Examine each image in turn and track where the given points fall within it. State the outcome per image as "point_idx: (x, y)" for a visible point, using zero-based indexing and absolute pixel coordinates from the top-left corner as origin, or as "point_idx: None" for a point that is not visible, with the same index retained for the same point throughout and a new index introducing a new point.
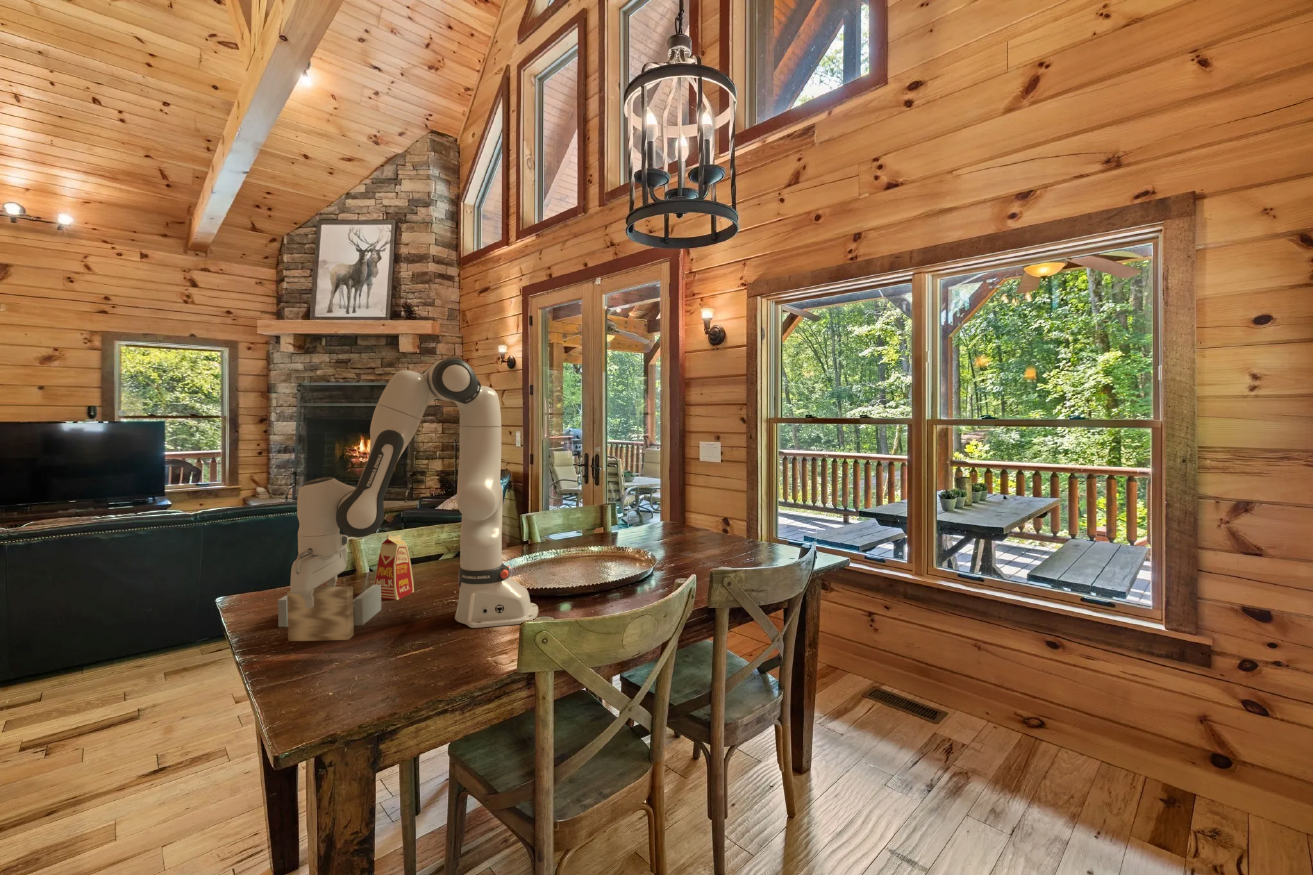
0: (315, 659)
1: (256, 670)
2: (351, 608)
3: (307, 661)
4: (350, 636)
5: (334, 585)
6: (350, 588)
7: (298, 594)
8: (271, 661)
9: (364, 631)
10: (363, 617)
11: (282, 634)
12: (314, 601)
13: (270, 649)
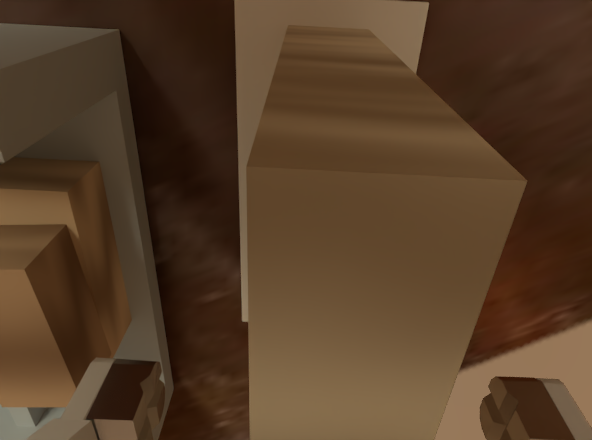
0: (548, 132)
1: (575, 313)
2: (321, 69)
3: (560, 161)
4: (339, 31)
5: (68, 430)
6: (360, 169)
7: None
8: (496, 300)
9: (147, 5)
10: (68, 40)
11: (203, 367)
12: (548, 416)
13: None
